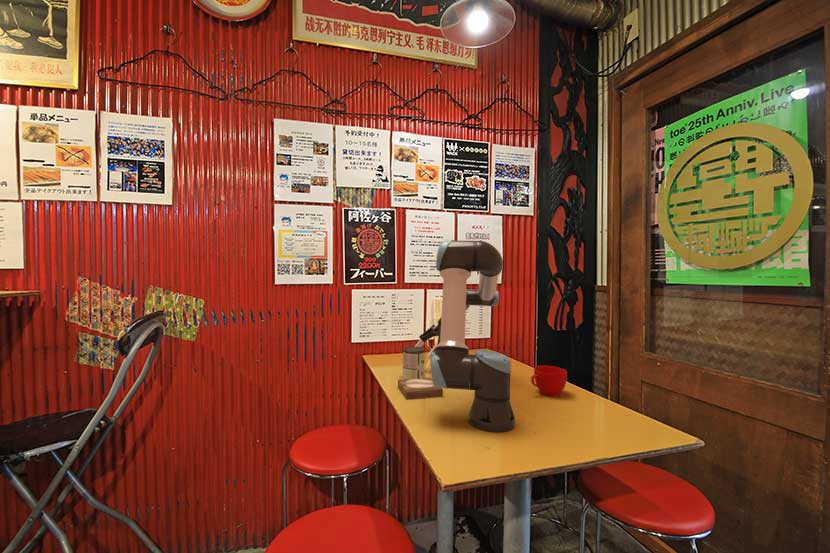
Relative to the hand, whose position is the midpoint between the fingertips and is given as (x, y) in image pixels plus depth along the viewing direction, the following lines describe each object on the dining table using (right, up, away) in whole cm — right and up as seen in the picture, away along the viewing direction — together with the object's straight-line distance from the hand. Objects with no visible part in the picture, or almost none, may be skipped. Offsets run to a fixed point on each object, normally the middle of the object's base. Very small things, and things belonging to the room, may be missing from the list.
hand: (421, 354), depth 167 cm
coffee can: (-4, -11, -3) cm, 12 cm away
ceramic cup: (+52, -12, -19) cm, 57 cm away
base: (-1, -11, -20) cm, 23 cm away
